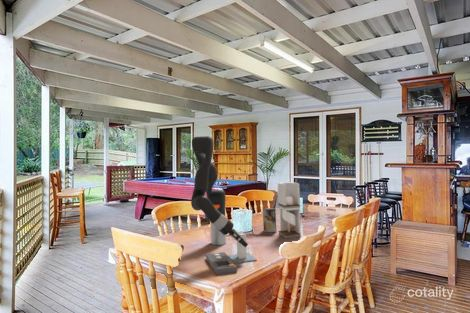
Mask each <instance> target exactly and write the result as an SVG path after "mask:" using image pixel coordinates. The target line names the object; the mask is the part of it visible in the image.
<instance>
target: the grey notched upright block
mask: <svg viewBox="0 0 470 313" xmlns="http://www.w3.org/2000/svg"><path fill="white" fill-rule="evenodd" d="M300 195H301V194H300V183H298V182H294V181H293V182H277V196H278V197H277V202H278V204H277V208H278V209H279V219H280V221H279V223H280V227H279V228H280V230H278V234H279V235H280V236H282V237H283V238H298V237H299V238H300V237H301V235H302V234H301V198H300Z"/></svg>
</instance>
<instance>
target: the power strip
mask: <svg viewBox="0 0 470 313" xmlns="http://www.w3.org/2000/svg"><path fill="white" fill-rule="evenodd" d="M205 257H206V258H205V260H206V261H207V263H208V264H209V265H210V267H211V268H212V270H213V271H214V274H215V275H226V274H233V273H238V266H237V264H236V263H233V261H232V260H231V259H230V258H229V257H228V254H226V252H214V253H206V256H205Z"/></svg>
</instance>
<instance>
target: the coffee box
mask: <svg viewBox="0 0 470 313" xmlns="http://www.w3.org/2000/svg"><path fill="white" fill-rule="evenodd" d="M262 219H263V220H262V224H263V226H262V227H263V233H277V212H276V208H275V207H265V208H262Z"/></svg>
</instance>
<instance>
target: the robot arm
mask: <svg viewBox="0 0 470 313" xmlns="http://www.w3.org/2000/svg"><path fill="white" fill-rule="evenodd" d="M214 144H215V143H214V139H213V137H212V136H210V135H209V136H208V135H203V136H195V137H192V140H191V147H192V151H193V153H194V156H195V158H196V161H197V164H198V169H197V170H196V172H195V175H194V188H193V191H192V194H191V195H192V196H191V200H190V201H191V202H190V204H191V205H190V206H191V207H192V209H193V210H195V211H197V212H199V211H202V212H203V213H204V217H205V218H206V219H207V220H208V222H210V244H211V245H213V246H223V245H225V244H226V243H227V242H226V241H227V239H226V235H228V236H229V237H231V238H233V240H235V241H236V242H237V241H238V242H239V243H241V244H242V245H243V246H244V247H246V248H247V246H248V245H249V244H248V242H247V241H246V242H245V241H244V240H243V238H241V237H240V235H239V234H240V233H238V232H237V230H236V229H235V228H234V225H235V224H234V223H233V222H232V221H231V220H230V219H228V217H227V216H226V191H224V189H213V187H214V185H215V184H216V182H217V180H218V177H219V175H218V170H217V167H216V166H215V164H214V163H213V161H212V160H213V153H214ZM215 206H218V208H216V207H215ZM239 238H241V239H240V240H238V239H239Z"/></svg>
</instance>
